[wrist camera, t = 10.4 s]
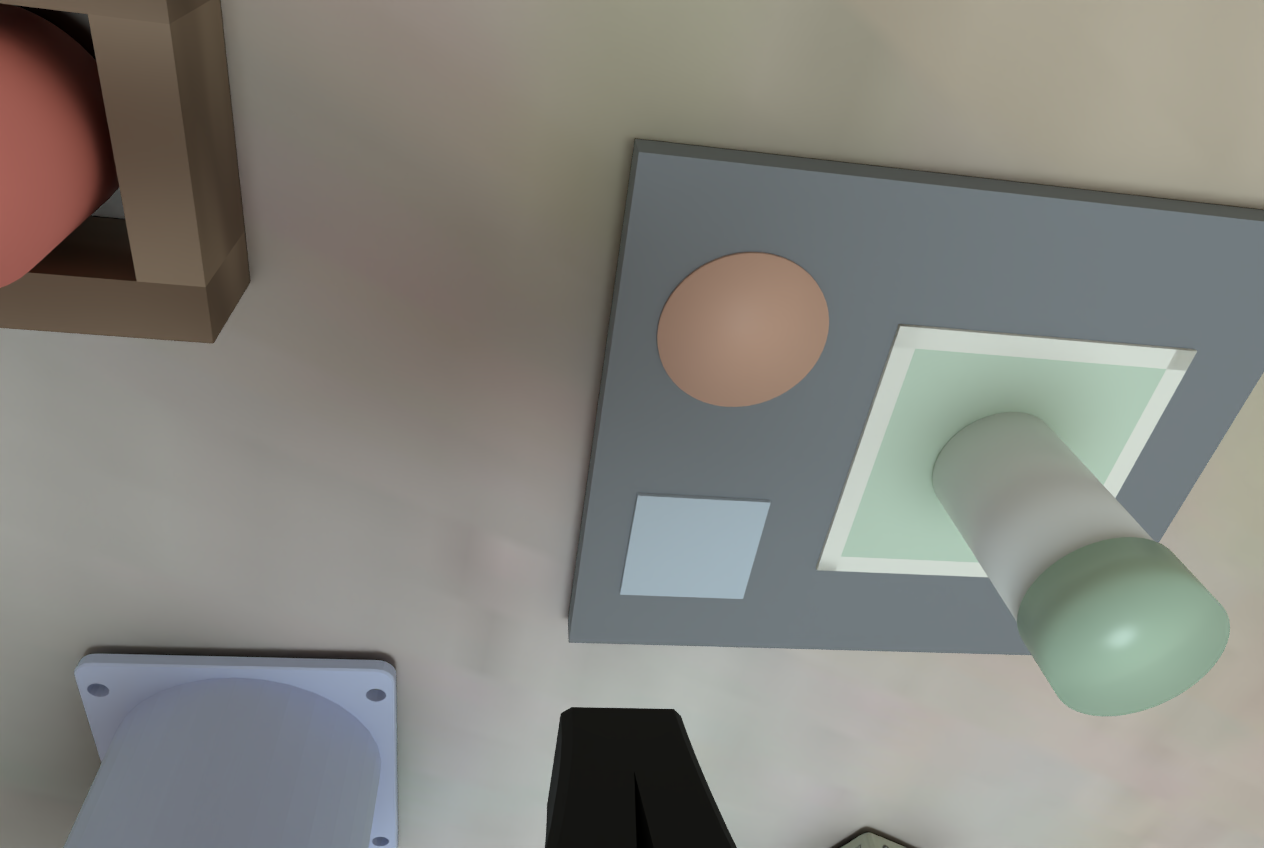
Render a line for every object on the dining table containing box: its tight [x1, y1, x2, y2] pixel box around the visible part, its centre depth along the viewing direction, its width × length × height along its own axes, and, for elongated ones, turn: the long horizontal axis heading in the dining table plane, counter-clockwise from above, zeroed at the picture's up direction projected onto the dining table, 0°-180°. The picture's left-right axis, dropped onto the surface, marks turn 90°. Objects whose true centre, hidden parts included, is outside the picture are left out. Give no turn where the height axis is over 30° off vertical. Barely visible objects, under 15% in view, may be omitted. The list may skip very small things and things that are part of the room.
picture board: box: [568, 139, 1264, 655], centre depth 21 cm, size 13×15×1 cm
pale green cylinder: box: [932, 412, 1230, 716], centre depth 19 cm, size 3×3×6 cm
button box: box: [0, 0, 250, 343], centre depth 15 cm, size 6×6×2 cm
